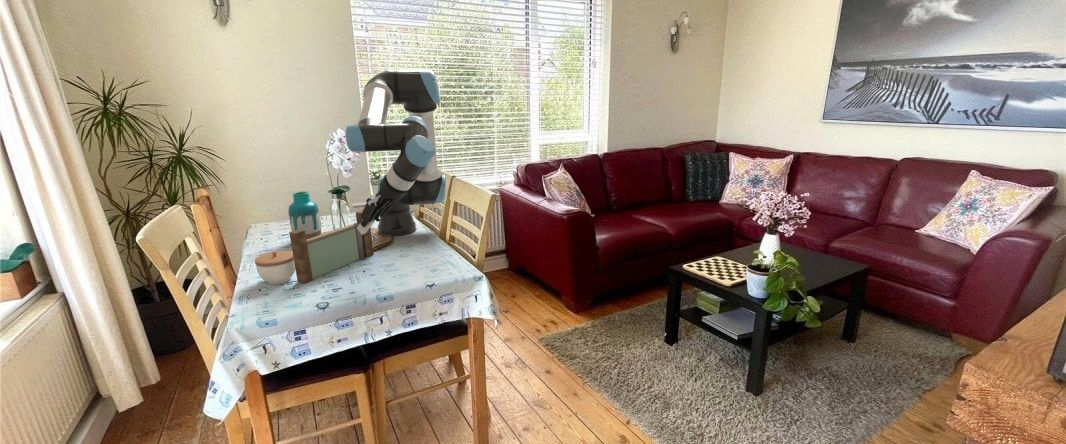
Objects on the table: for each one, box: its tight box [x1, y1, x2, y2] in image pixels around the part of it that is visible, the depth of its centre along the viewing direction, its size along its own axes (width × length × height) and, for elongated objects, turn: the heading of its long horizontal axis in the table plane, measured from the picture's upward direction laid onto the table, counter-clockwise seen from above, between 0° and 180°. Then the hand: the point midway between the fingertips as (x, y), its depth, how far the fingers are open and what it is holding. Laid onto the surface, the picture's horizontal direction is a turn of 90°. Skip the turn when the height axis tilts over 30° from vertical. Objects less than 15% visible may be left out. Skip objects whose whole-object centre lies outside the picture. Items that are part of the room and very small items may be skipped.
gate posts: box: [288, 209, 375, 285], centre depth 149 cm, size 28×3×16 cm, turn 153°
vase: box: [288, 190, 322, 239], centre depth 175 cm, size 11×11×19 cm
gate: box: [306, 222, 365, 279], centre depth 150 cm, size 21×2×12 cm, turn 153°
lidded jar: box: [254, 250, 296, 286], centre depth 140 cm, size 11×11×9 cm
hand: (361, 230), depth 142 cm, fingers closed
